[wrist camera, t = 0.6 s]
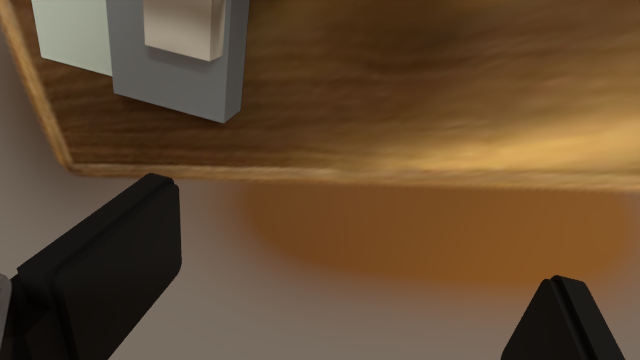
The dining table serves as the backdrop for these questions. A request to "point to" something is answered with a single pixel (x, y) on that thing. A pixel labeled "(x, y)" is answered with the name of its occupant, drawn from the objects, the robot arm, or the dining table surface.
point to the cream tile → (186, 26)
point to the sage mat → (74, 33)
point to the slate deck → (178, 64)
